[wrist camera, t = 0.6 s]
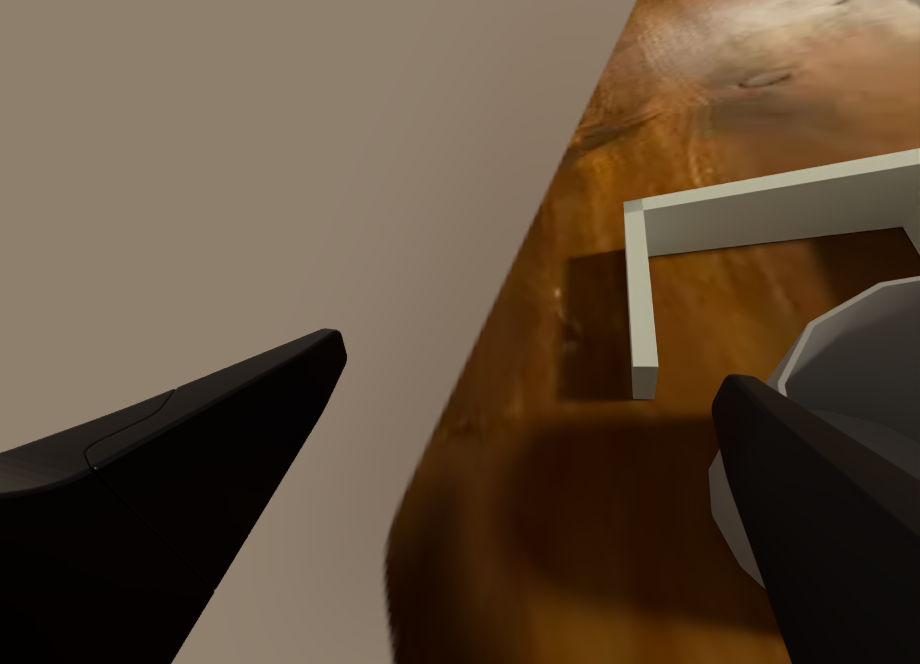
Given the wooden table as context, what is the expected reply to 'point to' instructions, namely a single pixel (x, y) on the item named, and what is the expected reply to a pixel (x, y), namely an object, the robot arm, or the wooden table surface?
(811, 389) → the cup
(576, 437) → the wooden table surface
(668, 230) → the u-shaped wall frame
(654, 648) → the wooden table surface
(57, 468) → the robot arm
